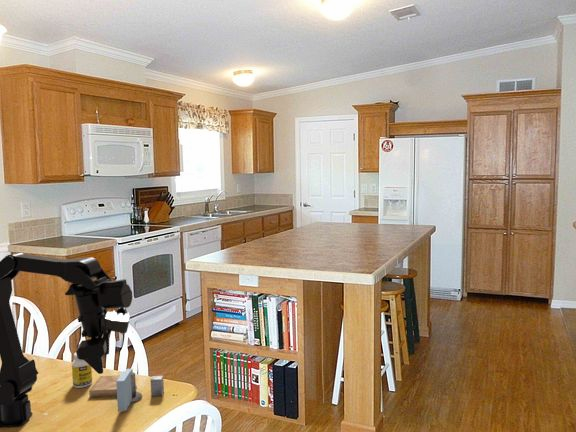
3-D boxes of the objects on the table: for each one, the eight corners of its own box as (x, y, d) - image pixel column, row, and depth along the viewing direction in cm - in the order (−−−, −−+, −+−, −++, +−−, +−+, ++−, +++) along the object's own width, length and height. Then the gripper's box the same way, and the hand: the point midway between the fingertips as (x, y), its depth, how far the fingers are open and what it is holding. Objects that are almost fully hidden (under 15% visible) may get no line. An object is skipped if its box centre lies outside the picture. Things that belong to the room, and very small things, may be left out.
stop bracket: (151, 396, 141) (150, 379, 141) (153, 392, 144) (152, 376, 143) (161, 396, 141) (161, 379, 141) (163, 392, 144) (163, 375, 143)
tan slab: (83, 405, 137) (81, 380, 136) (100, 382, 152) (99, 360, 151) (139, 403, 138) (137, 378, 137) (150, 380, 152) (149, 358, 152)
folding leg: (127, 395, 141) (125, 367, 140) (134, 395, 141) (133, 366, 140) (117, 411, 131) (116, 381, 131) (125, 411, 131) (124, 380, 131)
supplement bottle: (79, 390, 147) (77, 357, 146) (69, 385, 150) (67, 353, 149) (96, 383, 151) (94, 352, 150) (86, 379, 154) (84, 348, 153)
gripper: (118, 319, 116) (132, 377, 121) (128, 287, 134) (139, 339, 138) (69, 328, 115) (84, 387, 119) (85, 295, 132) (98, 347, 137)
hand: (104, 363), depth 128 cm, fingers open, 9 cm apart
